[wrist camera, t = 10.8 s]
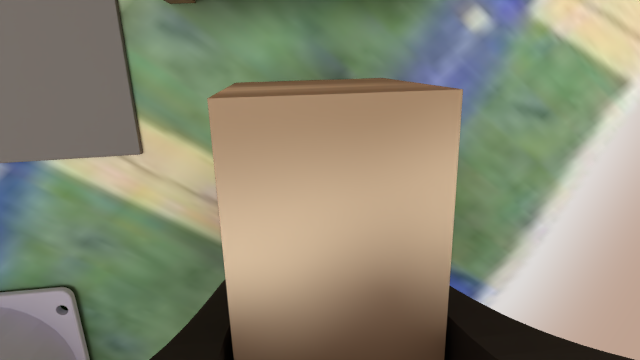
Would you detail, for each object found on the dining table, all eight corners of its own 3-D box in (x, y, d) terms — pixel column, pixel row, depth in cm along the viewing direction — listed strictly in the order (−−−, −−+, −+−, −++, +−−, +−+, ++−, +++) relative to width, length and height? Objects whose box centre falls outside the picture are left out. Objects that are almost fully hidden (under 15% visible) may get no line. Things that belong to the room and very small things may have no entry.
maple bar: (377, 423, 15) (427, 597, 10) (264, 436, 14) (260, 625, 10) (382, 77, 11) (462, 89, 7) (235, 82, 11) (208, 98, 6)
